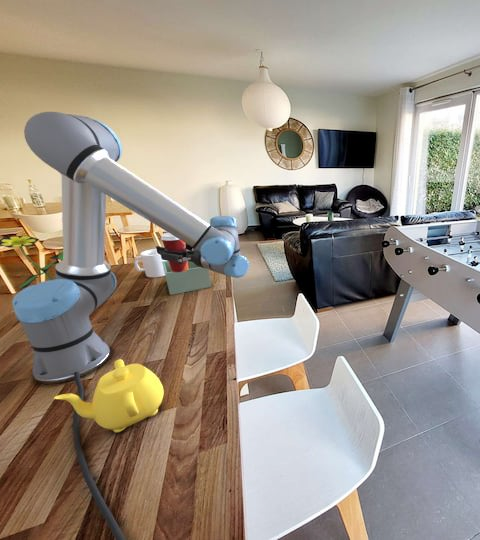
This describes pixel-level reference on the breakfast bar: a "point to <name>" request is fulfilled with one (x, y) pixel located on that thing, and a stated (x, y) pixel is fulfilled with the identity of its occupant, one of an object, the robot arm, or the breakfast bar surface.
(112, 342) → the breakfast bar surface
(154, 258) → the mug
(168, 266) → the open storage box
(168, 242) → the paper cup
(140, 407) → the teapot
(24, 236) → the potted plant
